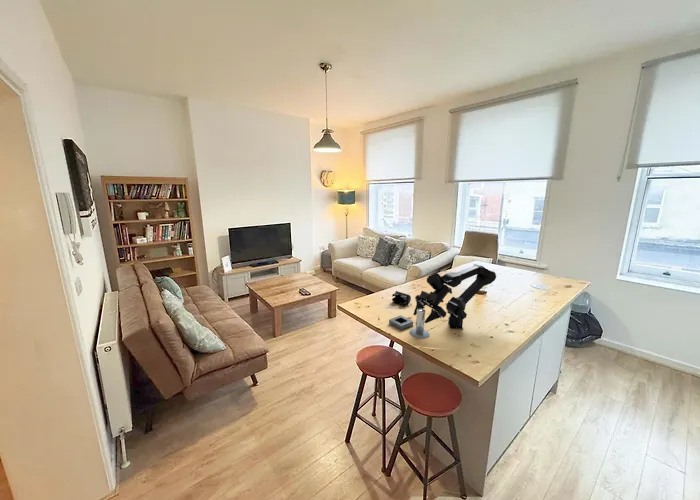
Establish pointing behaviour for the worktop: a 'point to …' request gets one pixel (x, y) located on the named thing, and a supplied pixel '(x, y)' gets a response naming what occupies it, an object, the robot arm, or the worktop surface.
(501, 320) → the worktop surface
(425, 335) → the rubber pad
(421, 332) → the steel peg
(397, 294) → the end cap
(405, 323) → the socket block
